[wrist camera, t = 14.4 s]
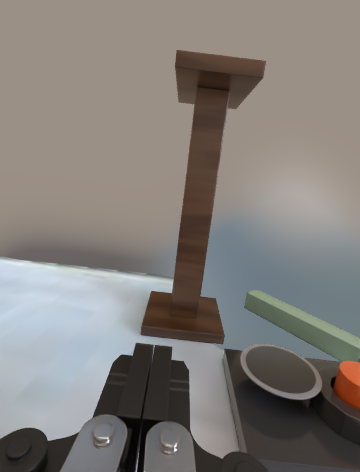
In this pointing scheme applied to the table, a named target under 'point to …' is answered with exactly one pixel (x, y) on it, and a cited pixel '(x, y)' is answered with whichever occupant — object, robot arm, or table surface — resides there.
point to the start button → (348, 383)
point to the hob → (294, 423)
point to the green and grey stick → (305, 326)
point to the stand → (200, 192)
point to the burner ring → (281, 371)
